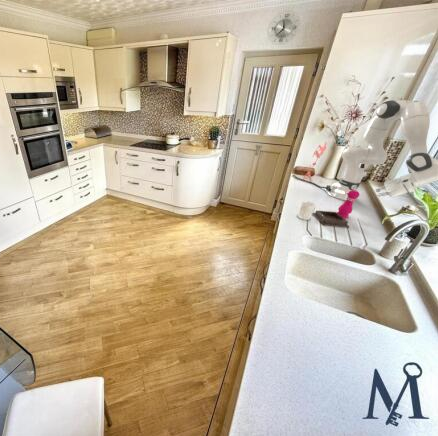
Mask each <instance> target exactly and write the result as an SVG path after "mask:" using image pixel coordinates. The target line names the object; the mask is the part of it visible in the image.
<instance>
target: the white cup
mask: <svg viewBox="0 0 438 436" xmlns="http://www.w3.org/2000/svg"><path fill="white" fill-rule="evenodd" d="M316 208H317V204H315V203H314V202H312V201H311V202H310V201H306V200H305V201H302V202H301V205H300V207H299V210H298V214H297V217H298V218H299V219H300V220H304V221H308V220H310V218H311V217H312V216H313V215H312V213H315V212H314V211H316Z"/></svg>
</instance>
